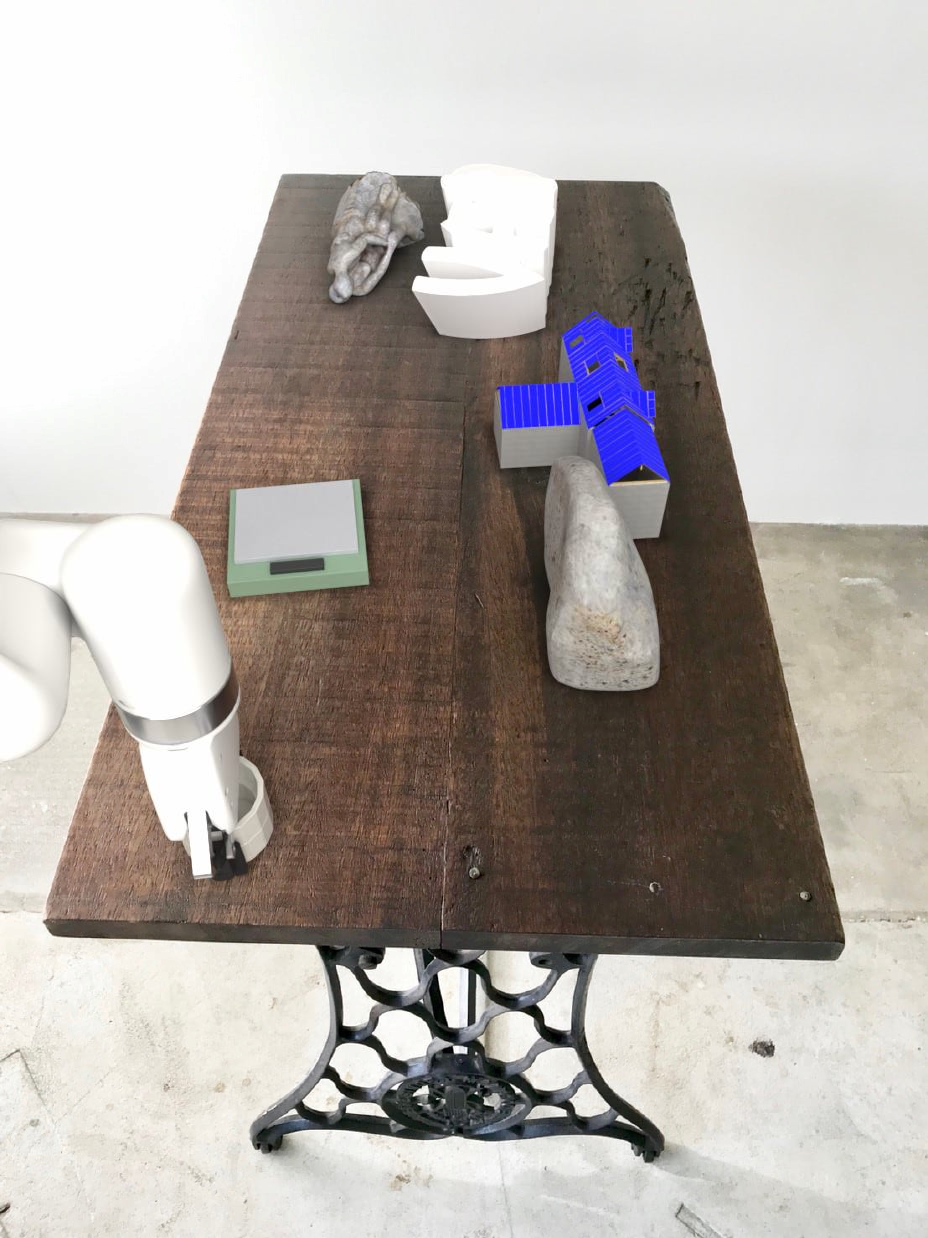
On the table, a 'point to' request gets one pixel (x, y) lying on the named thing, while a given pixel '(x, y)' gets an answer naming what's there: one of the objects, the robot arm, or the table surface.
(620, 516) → the decorative stone
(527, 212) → the wavy white extrusion
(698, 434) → the table surface
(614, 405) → the house model
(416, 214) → the sculpture
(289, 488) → the scale
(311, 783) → the table surface
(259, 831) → the white cup
